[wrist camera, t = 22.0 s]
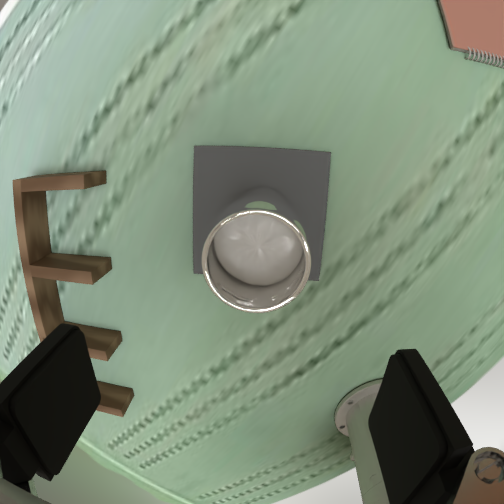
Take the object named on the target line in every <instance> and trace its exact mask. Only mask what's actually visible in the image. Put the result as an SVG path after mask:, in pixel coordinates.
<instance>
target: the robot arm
mask: <svg viewBox="0 0 504 504" xmlns="http://www.w3.org/2000/svg"><path fill="white" fill-rule="evenodd" d="M100 401H101V394H100V390H99V387H98V384H97V380H96V377H95V373H94V370H93V366H92V363H91V359H90V355H89V351H88V347H87V343H86V339H85V335H84V333H83V332H82V331H81V330H80V328H79V327H78V326H76V325H71V324H66V323H61V324H60V325H58V326H57V327H56V328H55V329H54V330H53V331H52V332H51V333H50V334H49V335H48V336H47V337H46V338H45V339H44V340H43V341H42V342H41V343H40V344H39V345H38V346H37V347H36V348H35V349H34V350H33V351H32V352H31V353H30V354H29V355H28V356H27V357H26V358H25V359H24V360H23V361H22V362H21V363H20V364H19V365H18V366H17V367H16V368H15V369H14V370H13V371H12V372H11V373H10V374H9V375H8V376H7V377H6V378H5V379H4V380H3V381H2V382H1V384H0V504H51V503H49V502H46V501H44V500H42V499H40V498H38V496H37V492H36V488H35V484H34V480H33V476H34V475H35V473H36V474H37V475H38V476H40V477H42V478H45V479H47V480H49V481H51V480H52V478H53V476H54V475H57V474H59V473H60V471H61V469H62V467H63V465H64V464H65V462H66V460H67V459H68V457H69V455H70V453H71V452H72V450H73V448H74V446H75V445H76V443H77V441H78V439H79V438H80V436H81V434H82V432H83V431H84V429H85V427H86V426H87V424H88V422H89V421H90V419H91V417H92V416H93V414H94V412H95V411H96V409H97V407H98V406H99V404H100ZM334 417H335V424H336V427H337V429H338V430H339V431H340V432H341V433H342V434H344V435H346V436H348V437H349V438H350V443H351V447H352V452H351V454H350V459H351V460H352V461H355V466H356V470H357V475H358V481H359V485H360V490H361V496H362V501H363V504H504V452H503V451H501V450H499V449H497V448H492V447H484V448H481V449H479V450H476V451H474V449H473V447H472V446H473V443H472V441H471V440H470V438H469V436H468V434H467V432H466V430H465V429H464V427H463V425H462V423H461V422H460V420H459V418H458V416H457V415H456V413H455V411H454V409H453V408H452V406H451V404H450V402H449V401H448V399H447V397H446V396H445V394H444V392H443V391H442V389H441V387H440V386H439V384H438V382H437V381H436V379H435V378H434V376H433V374H432V373H431V371H430V369H429V368H428V366H427V365H426V363H425V362H424V360H423V358H422V357H421V355H420V354H419V352H418V351H417V350H416V349H402V350H397V352H396V353H395V355H391V357H390V359H389V362H388V365H387V368H386V371H385V374H384V377H383V379H380V380H375V381H372V382H369V383H366V384H364V385H362V386H360V387H358V388H356V389H354V390H353V391H352V392H350V393H349V394H348V395H346V396H345V397H344V399H343V400H342V401H341V402H340V403H339V405H338V406H337V409H336V411H335V416H334Z"/></svg>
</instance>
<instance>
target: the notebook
mask: <svg viewBox="0 0 504 504" xmlns="http://www.w3.org/2000/svg"><path fill="white" fill-rule="evenodd" d="M437 1H438V4H439V7H440V11H441V14H442V17H443V21H444V25H445V28H446V32H447V36H448V40H449V44H450V49H451V50H454V51H459V52H464V53H468V54H469V57H468V58H465V59H466V60H467V59H469V60H473V61H477V62H481V63H485V64H489V63H490V62H491V59H492V60H493V63H492V64H489V65H493V64H494V63H495V60H496V61H497V63H496V64H495V65H493V66H497V65H498V63H499V61H500V62H501V63H500V65H499V66H497V67H500V66H501V65H502V62H503V63H504V0H437ZM471 54H473V55H474V57H473V58H472V59H470V57H471ZM475 55H477V56H478V58H477V59H476V60H474V59H475ZM480 56H481V57H482V59H481V60H480V61H478V60H479V58H480ZM484 57H485V58H486V60H485V61H484V62H482V61H483V59H484ZM488 58H489V59H490V60H489V62H488V63H486V62H487V59H488ZM500 68H504V65H503V66H502V67H500Z"/></svg>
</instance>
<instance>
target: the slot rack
mask: <svg viewBox="0 0 504 504" xmlns="http://www.w3.org/2000/svg"><path fill="white" fill-rule="evenodd" d="M102 184H106V171H90V172H74V173H60V174H47V175H37V176H31V177H26V178H21V179H16V180H13V195H14V208H15V219H16V227H17V235H18V243H19V250H20V256H21V262H22V267H23V273H24V278H25V283H26V288H27V292H28V297H29V301H30V305H31V309H32V313H33V317H34V321H35V324H36V328H37V331H38V335H39V338H40V342H42V341H43V340H44V339H45V338H46V337H47V336H48V335H49V334H50V333H51V332H52V331H53V330H54V329H55V328H56V327H57V326H58V325H60V324H61V323H66V324H71V325H76V326H78V327H79V328H80V330H81V331H82V332H83V333H84V335H85V339H86V343H87V347H88V351H89V355H90V358H95V359H100V360H104V361H108V360H109V359H110V357H111V356H112V354H113V353H114V352H115V350H116V349H117V347H118V346H119V345H120V343H121V342H122V336H121V331H115V330H109V329H103V328H97V327H92V326H86V325H81V324H75V323H70V322H65V321H64V317H63V313H62V309H61V304H60V299H59V294H58V289H57V284H56V280H60V281H68V282H75V283H83V284H92V285H93V284H94V283H95V282H97V281H98V280H99V279H100V278H102V277H103V276H104V275H105V274H106V273H108V272H109V271H110V270H111V269H112V265H111V257H98V256H85V255H72V254H60V253H52V252H51V245H50V237H49V227H48V217H47V205H46V191H48V190H70V189H86V188H90V187H94V186H98V185H102ZM97 384H98V387H99V390H100V394H101V401H100V404H99V406H98V407H97V409H96V410H97V411H101V412H105V413H109V414H113V415H117V416H121V417H123V416H124V414H125V412H126V410H127V408H128V406H129V404H130V403H131V401H132V399H133V397H134V393H133V389H132V388H127V387H122V386H117V385H113V384H108V383H104V382H100V381H97Z"/></svg>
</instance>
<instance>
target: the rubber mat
mask: <svg viewBox="0 0 504 504" xmlns="http://www.w3.org/2000/svg"><path fill="white" fill-rule="evenodd" d="M330 157H331V152H321V151H309V150H297V149H282V148H265V147H240V146H194V174H193V265H194V273H195V274H203V270H202V251H203V247H204V244H205V241H206V239H207V237H208V235H209V233H210V230H211V228H212V226H213V224H214V222H215V221H216V219H217V218H218V216H219V215H220V214H221V212H222V211H223V210H224V209H225V208H226V207H228V206H229V205H230V204H231V203H233V202H234V201H236V200H238V198H239V197H240V196H241V195H242V194H243V193H244V192H246V191H248V190H250V189H252V188H256V187H268V188H271V189H274V190H276V191H278V192H279V193H281V194H282V195H283V196H284V197H285V199H286V200H287V202H288V204H289V206H290V207H291V208H292V209H293V210H294V211H295V212H296V214H297V215H298V217H299V218H300V220H301V221H302V223H303V225H304V228H305V231H306V234H307V238H308V243H309V249H310V254H311V270H310V275H309V278H308V280H313V281H319V275H320V267H321V259H322V250H323V240H324V231H325V221H326V210H327V198H328V186H329V172H330Z"/></svg>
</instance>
